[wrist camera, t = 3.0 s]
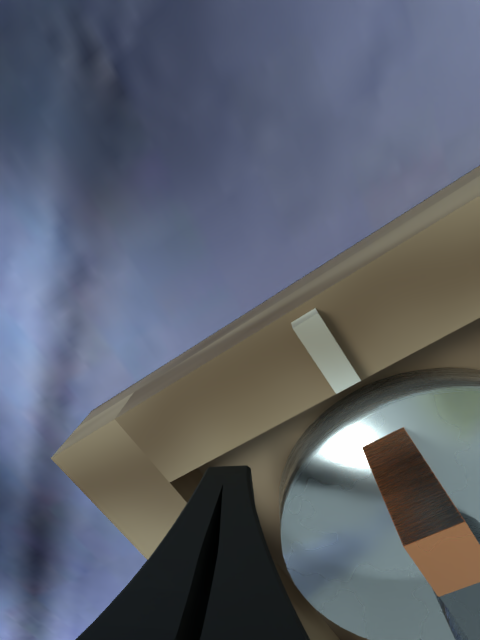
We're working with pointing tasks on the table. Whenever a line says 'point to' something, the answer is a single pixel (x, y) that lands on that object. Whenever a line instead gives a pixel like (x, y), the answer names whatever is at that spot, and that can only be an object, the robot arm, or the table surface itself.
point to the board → (287, 376)
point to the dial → (390, 508)
